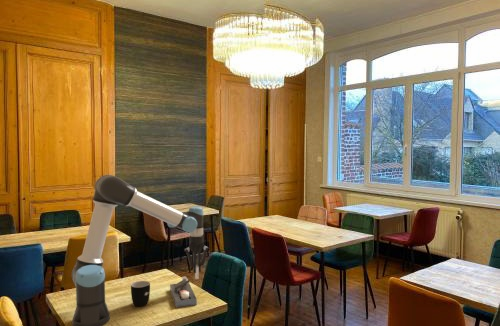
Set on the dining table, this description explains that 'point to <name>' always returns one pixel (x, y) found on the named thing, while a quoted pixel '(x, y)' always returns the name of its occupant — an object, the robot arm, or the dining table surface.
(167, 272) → the dining table surface
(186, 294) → the cream button
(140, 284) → the mug
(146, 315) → the dining table surface
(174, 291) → the panel
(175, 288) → the rocker
